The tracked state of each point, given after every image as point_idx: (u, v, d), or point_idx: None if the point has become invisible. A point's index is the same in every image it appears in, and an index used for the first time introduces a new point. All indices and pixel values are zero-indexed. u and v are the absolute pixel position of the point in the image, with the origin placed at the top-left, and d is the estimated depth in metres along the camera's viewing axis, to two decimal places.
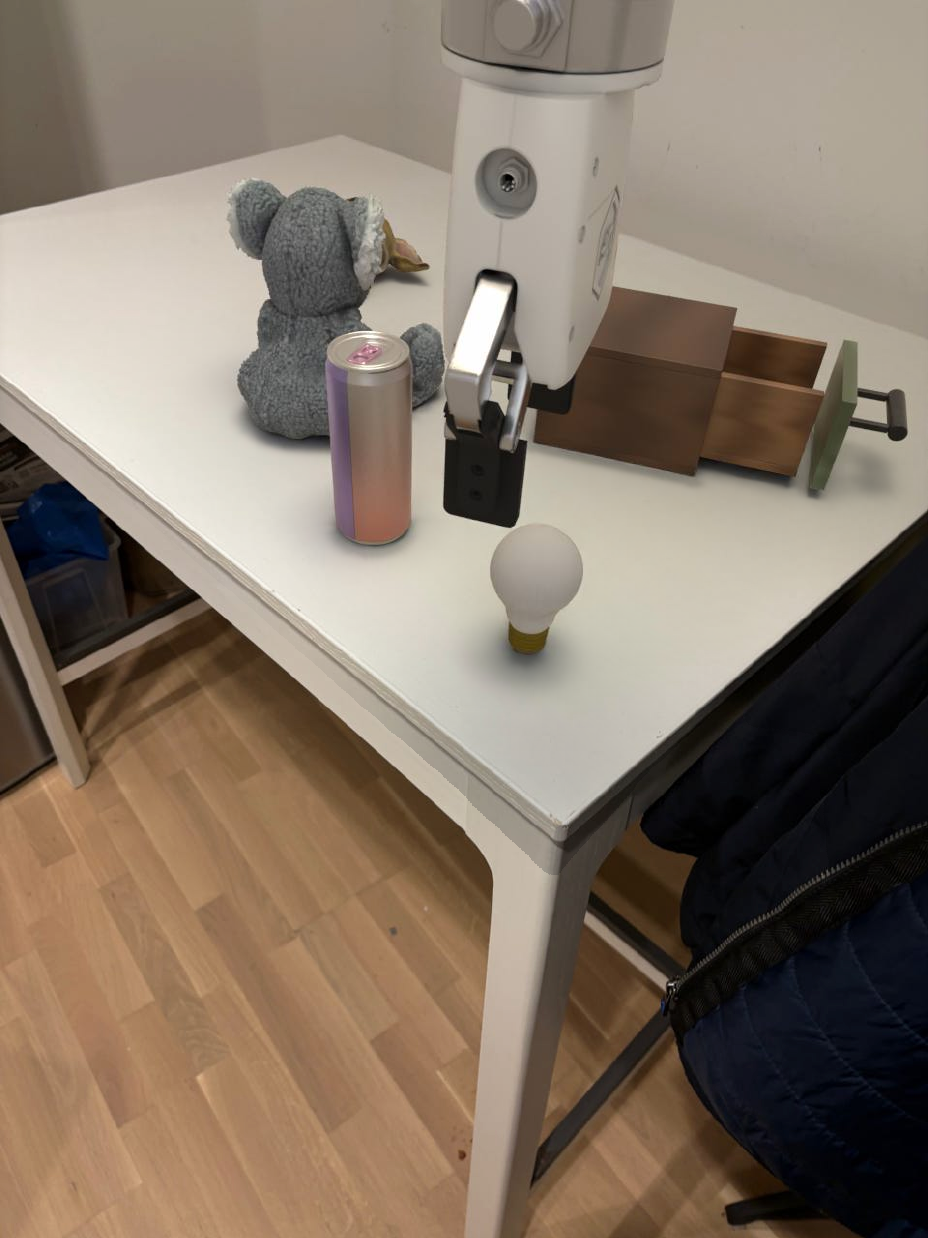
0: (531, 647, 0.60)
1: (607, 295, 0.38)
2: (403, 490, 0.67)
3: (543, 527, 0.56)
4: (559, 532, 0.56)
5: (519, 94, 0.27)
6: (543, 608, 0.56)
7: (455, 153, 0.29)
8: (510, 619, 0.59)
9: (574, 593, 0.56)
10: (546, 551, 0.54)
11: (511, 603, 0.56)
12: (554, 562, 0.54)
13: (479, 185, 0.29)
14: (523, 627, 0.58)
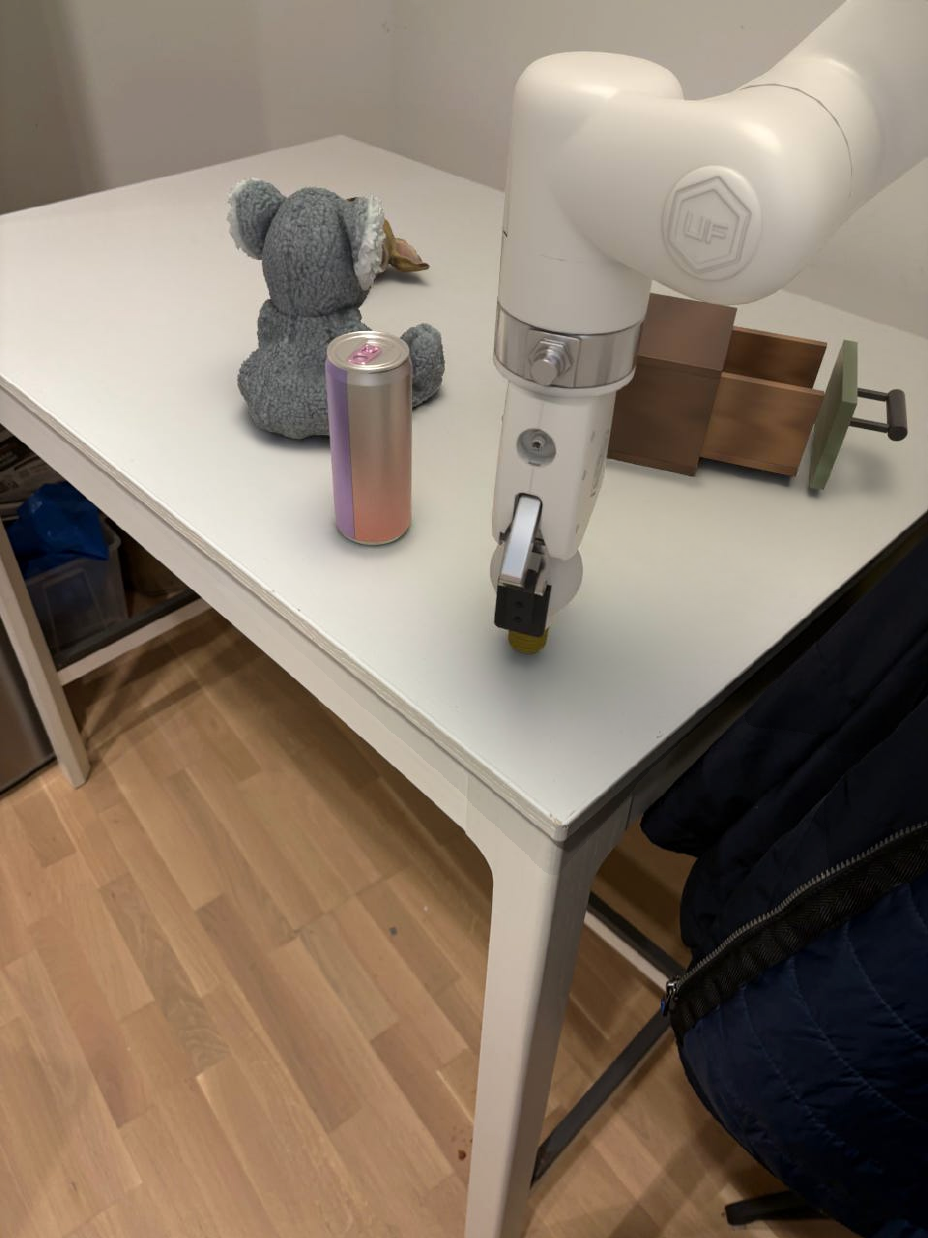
0: (531, 647, 0.60)
1: (601, 481, 0.55)
2: (403, 490, 0.67)
3: None
4: None
5: (545, 400, 0.44)
6: None
7: (503, 426, 0.46)
8: None
9: (574, 593, 0.56)
10: None
11: None
12: (554, 562, 0.54)
13: (518, 445, 0.46)
14: None
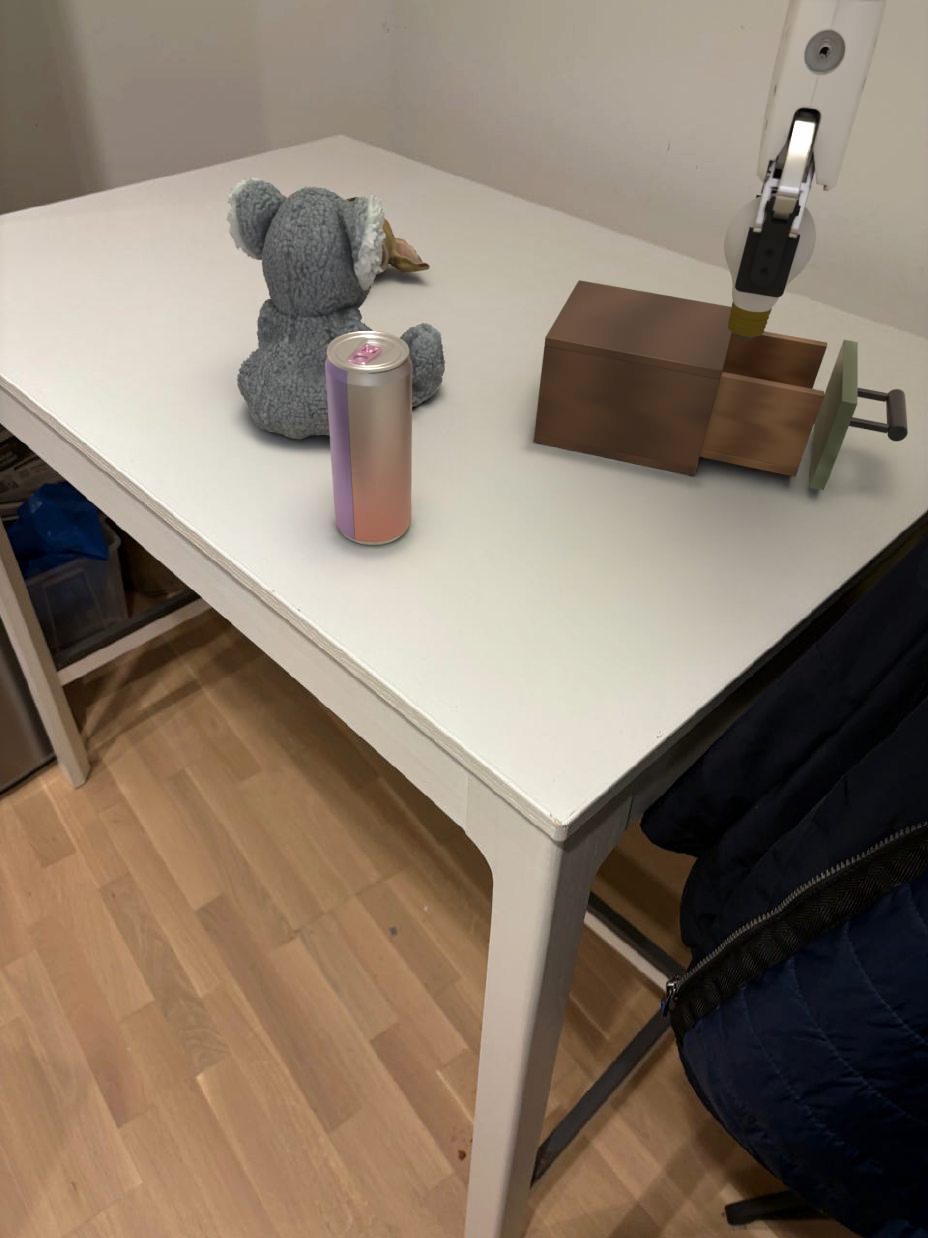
0: (754, 329, 0.64)
1: None
2: (403, 490, 0.67)
3: None
4: None
5: None
6: None
7: (792, 35, 0.50)
8: (739, 296, 0.63)
9: (809, 257, 0.60)
10: None
11: None
12: None
13: (804, 55, 0.50)
14: (753, 301, 0.62)
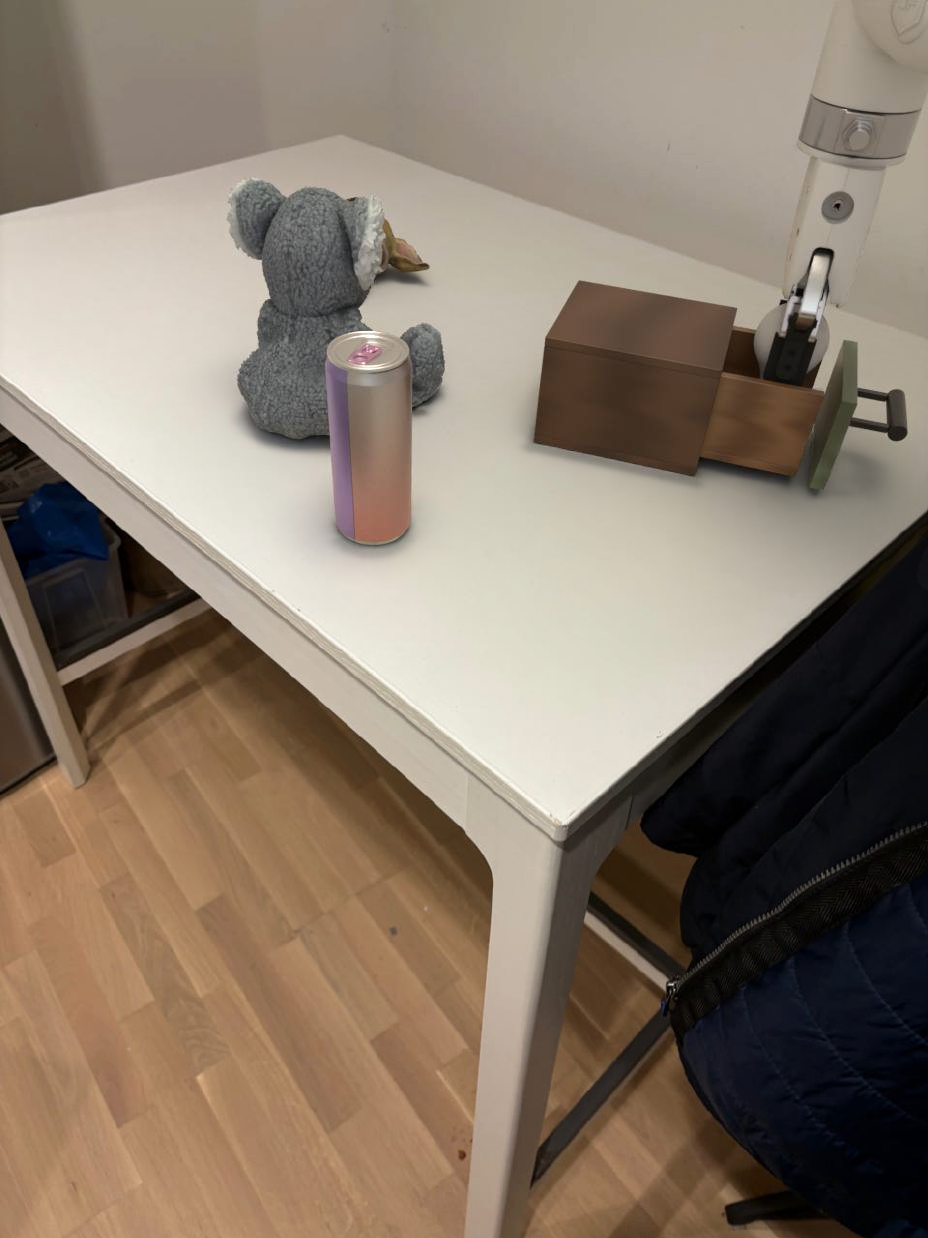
0: None
1: None
2: (403, 490, 0.67)
3: None
4: None
5: (851, 167, 0.61)
6: None
7: (812, 193, 0.63)
8: None
9: (824, 354, 0.73)
10: None
11: None
12: None
13: (822, 208, 0.64)
14: None
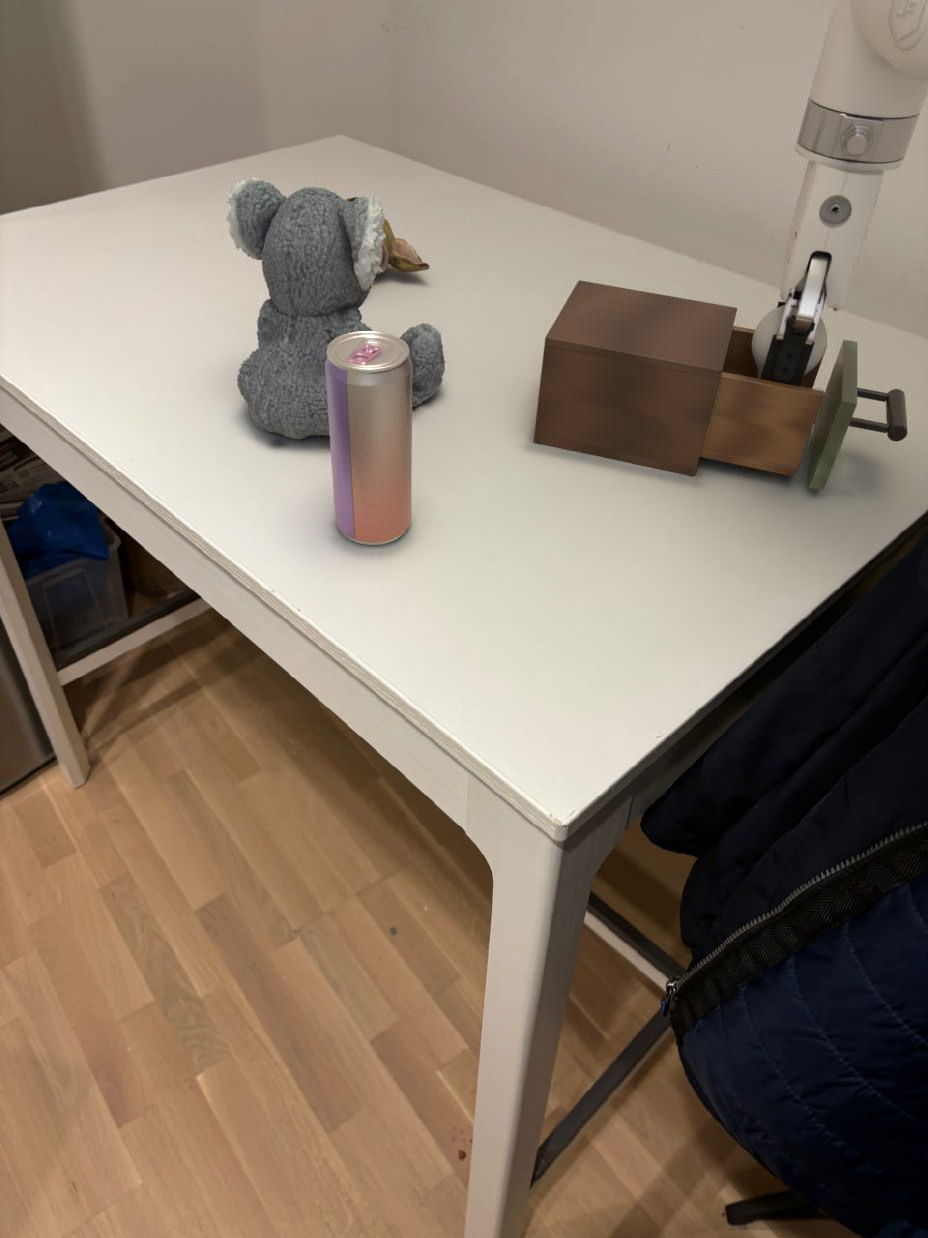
0: None
1: None
2: (403, 490, 0.67)
3: None
4: None
5: (848, 172, 0.62)
6: None
7: (810, 197, 0.64)
8: None
9: (821, 356, 0.74)
10: None
11: None
12: None
13: (819, 211, 0.64)
14: None
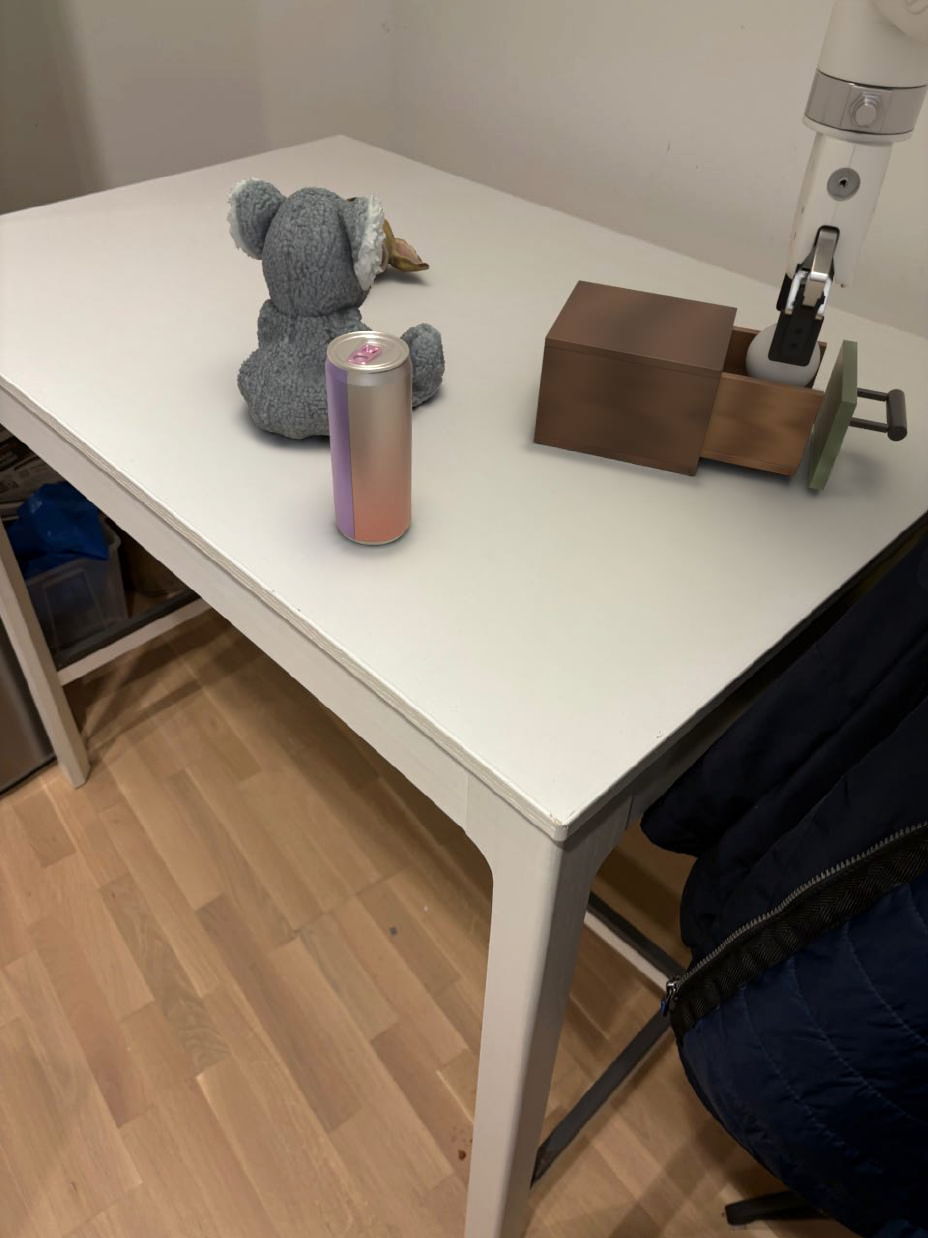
0: None
1: None
2: (403, 490, 0.67)
3: None
4: None
5: (857, 143, 0.61)
6: (793, 381, 0.74)
7: (817, 169, 0.62)
8: None
9: (815, 372, 0.75)
10: None
11: (768, 379, 0.74)
12: None
13: (827, 184, 0.63)
14: None
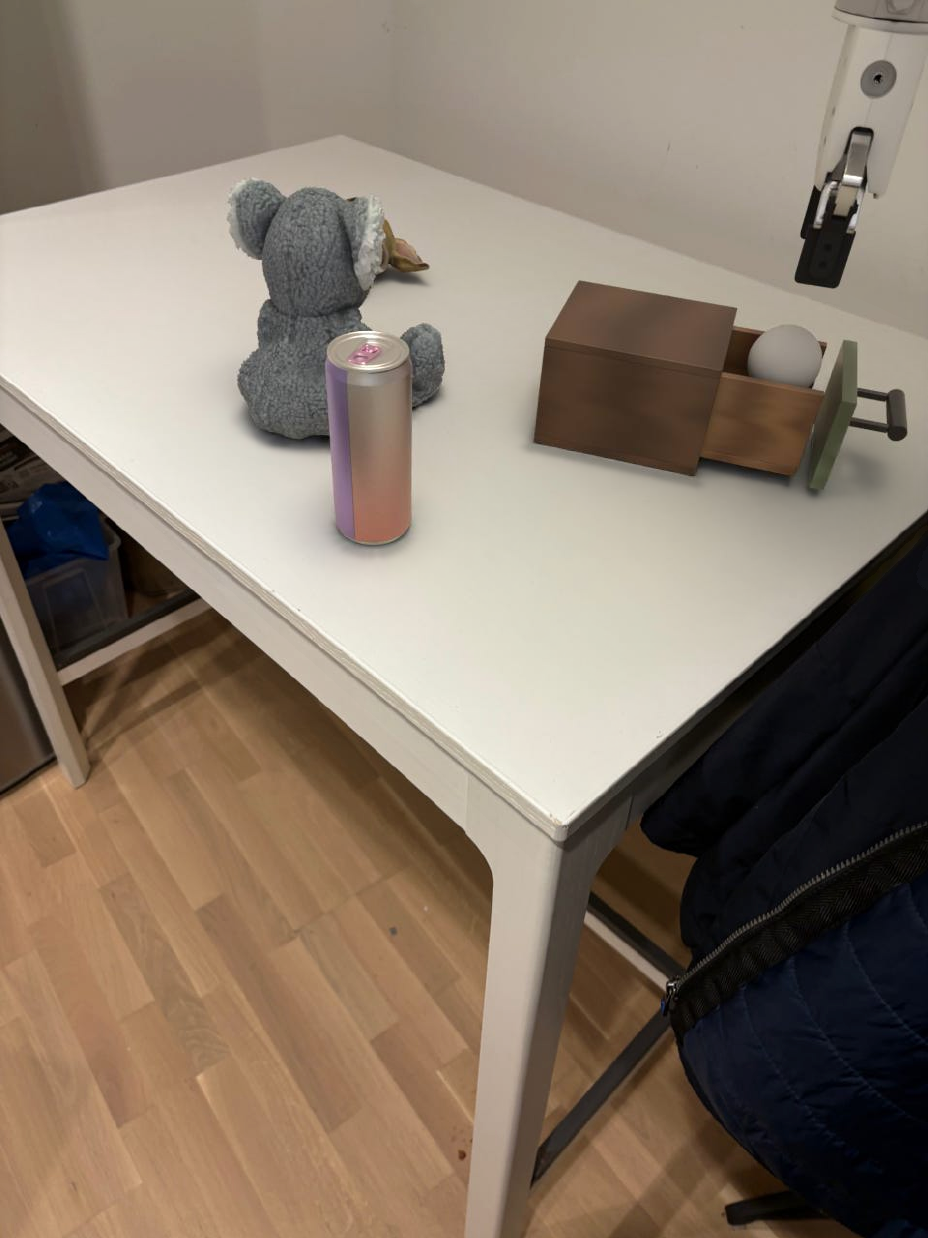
0: None
1: None
2: (403, 490, 0.67)
3: (794, 325, 0.74)
4: None
5: (894, 32, 0.56)
6: (794, 385, 0.74)
7: (850, 64, 0.58)
8: None
9: (816, 376, 0.74)
10: (801, 339, 0.73)
11: None
12: (807, 347, 0.73)
13: (860, 81, 0.58)
14: None
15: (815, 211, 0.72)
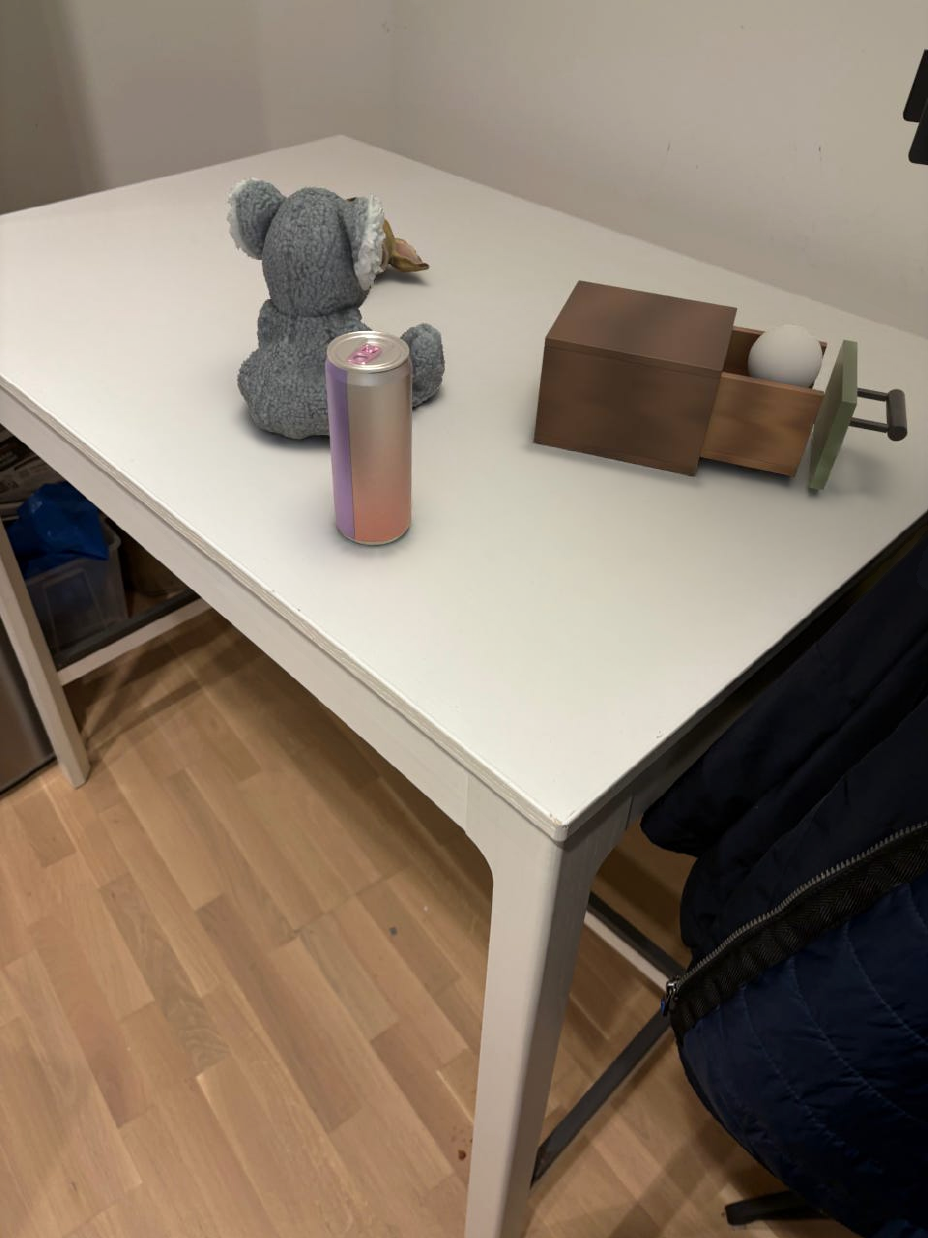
0: None
1: None
2: (403, 490, 0.67)
3: (794, 325, 0.74)
4: (806, 329, 0.74)
5: None
6: (795, 385, 0.74)
7: None
8: None
9: (816, 375, 0.74)
10: (801, 339, 0.73)
11: None
12: (808, 347, 0.73)
13: None
14: None
15: (925, 83, 0.58)
